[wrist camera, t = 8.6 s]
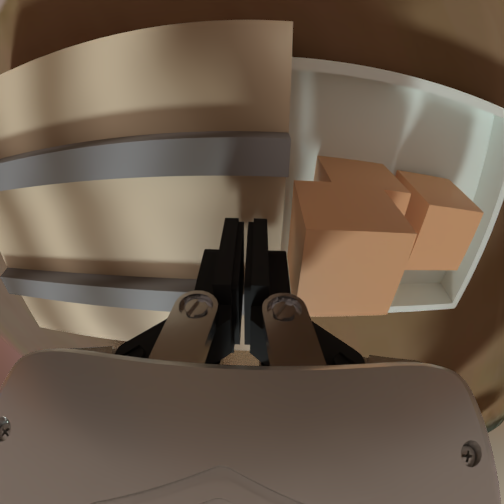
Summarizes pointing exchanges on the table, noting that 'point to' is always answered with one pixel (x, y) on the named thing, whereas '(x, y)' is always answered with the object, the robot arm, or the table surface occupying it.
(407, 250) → the chip
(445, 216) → the light brown block
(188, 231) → the slot board
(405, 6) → the table surface
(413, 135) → the tray
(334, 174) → the chip
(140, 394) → the robot arm
